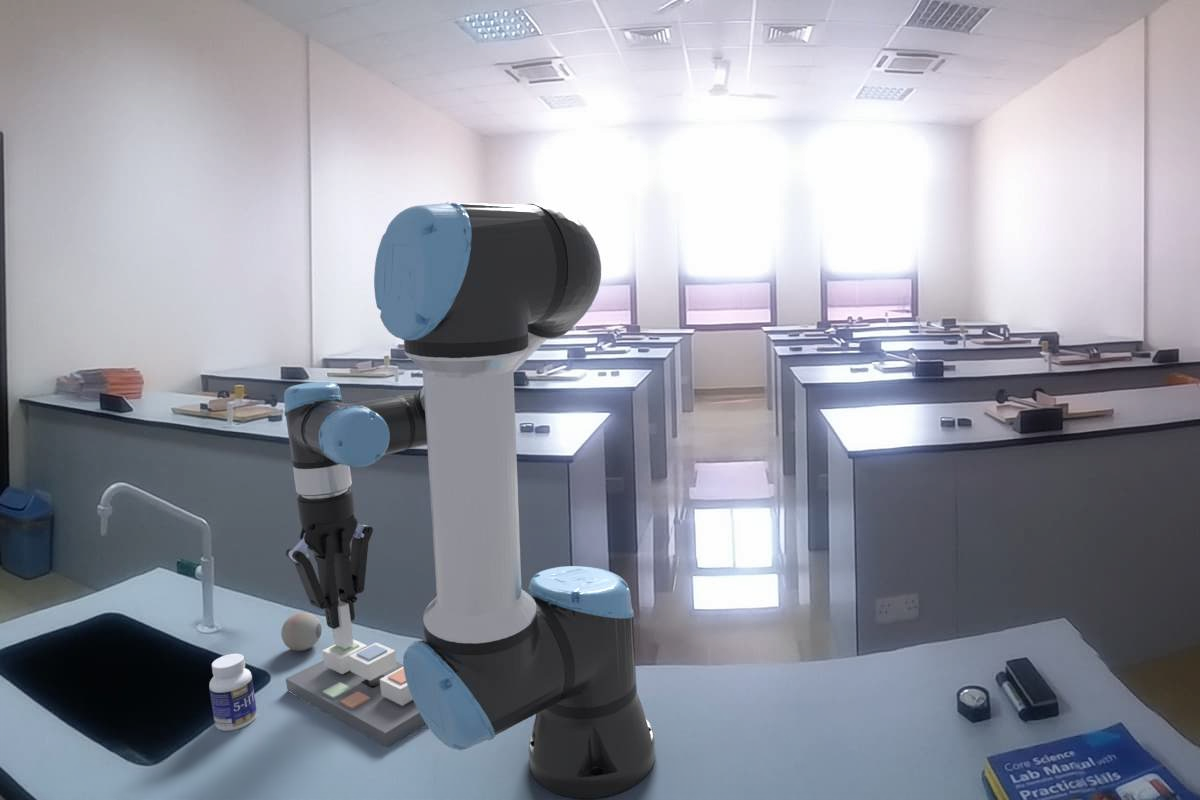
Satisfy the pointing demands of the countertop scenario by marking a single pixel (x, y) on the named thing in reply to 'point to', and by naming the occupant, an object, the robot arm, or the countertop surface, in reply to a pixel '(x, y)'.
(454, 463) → the robot arm
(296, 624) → the eyeball
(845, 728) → the countertop surface
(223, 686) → the pill bottle
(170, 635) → the countertop surface
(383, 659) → the white boxy piece
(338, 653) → the key sage
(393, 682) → the key terracotta
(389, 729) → the keypad board
